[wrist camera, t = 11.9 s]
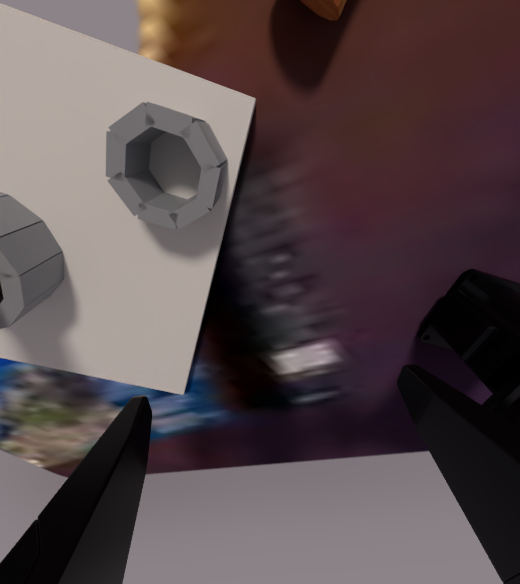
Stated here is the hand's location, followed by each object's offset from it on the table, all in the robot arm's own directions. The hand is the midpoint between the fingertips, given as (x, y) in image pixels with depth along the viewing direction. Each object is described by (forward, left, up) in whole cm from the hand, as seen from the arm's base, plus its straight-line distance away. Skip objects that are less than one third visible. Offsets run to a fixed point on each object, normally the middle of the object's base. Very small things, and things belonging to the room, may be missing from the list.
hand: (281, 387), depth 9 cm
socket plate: (+13, +3, -11) cm, 17 cm away
